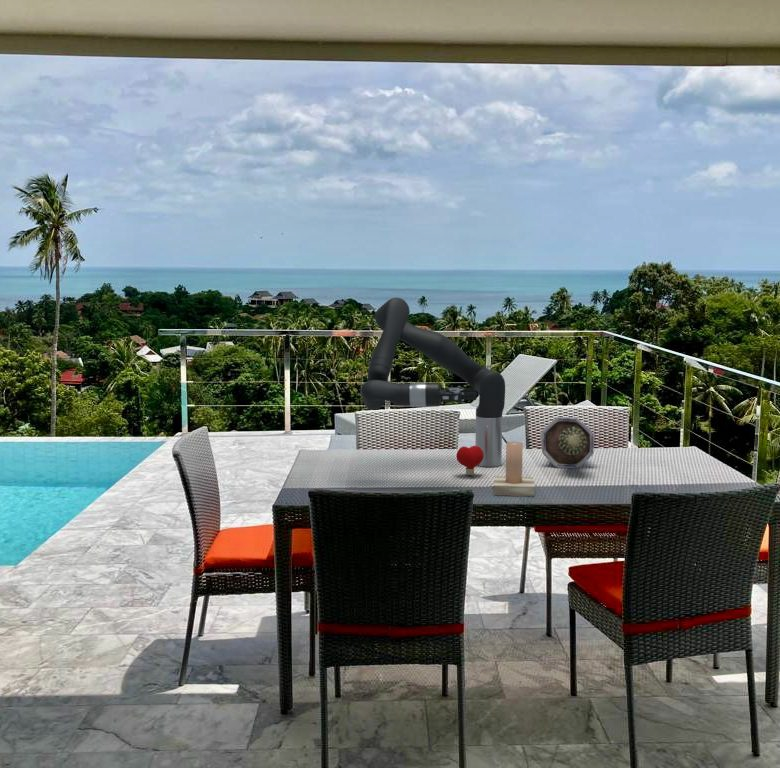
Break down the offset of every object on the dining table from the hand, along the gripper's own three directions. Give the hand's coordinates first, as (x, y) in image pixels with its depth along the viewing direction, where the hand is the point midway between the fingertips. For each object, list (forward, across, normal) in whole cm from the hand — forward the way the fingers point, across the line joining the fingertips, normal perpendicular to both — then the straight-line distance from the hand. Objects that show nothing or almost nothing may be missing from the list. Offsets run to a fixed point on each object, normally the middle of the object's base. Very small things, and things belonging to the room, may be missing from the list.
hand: (476, 394), depth 264 cm
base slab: (+11, -6, +29) cm, 32 cm away
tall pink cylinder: (+11, -6, +26) cm, 29 cm away
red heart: (-3, +12, +29) cm, 32 cm away
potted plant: (+30, +27, +30) cm, 51 cm away
